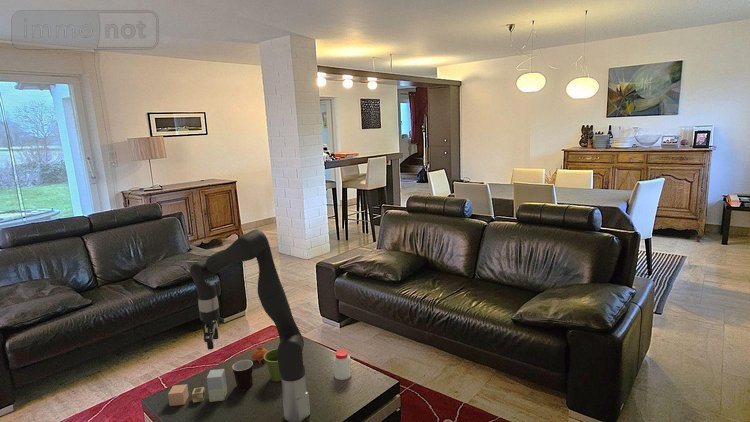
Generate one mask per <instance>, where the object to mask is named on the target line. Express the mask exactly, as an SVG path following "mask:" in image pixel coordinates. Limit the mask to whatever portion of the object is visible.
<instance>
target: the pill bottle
mask: <svg viewBox="0 0 750 422" xmlns="http://www.w3.org/2000/svg"><path fill="white" fill-rule="evenodd" d="M351 361H352V360H351V355H350V354H348V351H347V350H346V349H339V350H336V351H335V353H334V356H333V360H332V363H333V376H334V378H335V379H336V380H340V381H344V380H348V379H349V378H350V377H351V376H352V363H351Z"/></svg>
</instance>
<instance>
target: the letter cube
mask: <svg viewBox="0 0 750 422" xmlns="http://www.w3.org/2000/svg"><path fill="white" fill-rule="evenodd" d="M205 389H206V388H205V386H203V387H201V386H200V387H195V388H193V391H192V393H191V396H192V397H191V398H192V403H199V402H203V401H204V400H205V397H206V391H205Z"/></svg>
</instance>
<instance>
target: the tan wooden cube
mask: <svg viewBox="0 0 750 422" xmlns="http://www.w3.org/2000/svg"><path fill="white" fill-rule="evenodd" d="M167 396H168V397H167V398H168V401H169V403H168V404H169V406H170V407H172V406H183V405H185V404H186V402H187V401H188V399H189V397H190V394H189V388H188V383H186V384H176V385H172V386H171V389H169V392H168V393H167Z"/></svg>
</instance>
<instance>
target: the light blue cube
mask: <svg viewBox="0 0 750 422" xmlns="http://www.w3.org/2000/svg"><path fill="white" fill-rule="evenodd" d="M225 381H226V382H227V379H226V371H225V368H218V369H210V370H209V372H208V375H207V376H206V384H207V391H208V390H213V389H223V386H224V384H225Z"/></svg>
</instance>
